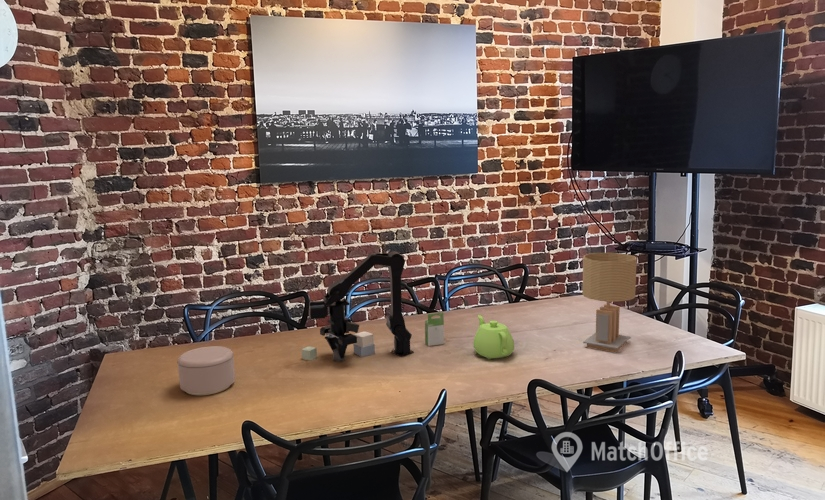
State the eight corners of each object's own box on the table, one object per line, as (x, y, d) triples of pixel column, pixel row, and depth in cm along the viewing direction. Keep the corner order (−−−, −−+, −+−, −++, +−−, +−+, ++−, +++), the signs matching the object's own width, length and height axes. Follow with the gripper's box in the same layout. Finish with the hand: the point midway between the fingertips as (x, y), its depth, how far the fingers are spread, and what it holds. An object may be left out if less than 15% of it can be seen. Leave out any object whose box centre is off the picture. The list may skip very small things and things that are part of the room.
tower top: (373, 343, 231) (373, 334, 230) (362, 347, 227) (362, 337, 227) (364, 340, 235) (364, 331, 234) (354, 344, 231) (353, 334, 230)
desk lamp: (624, 356, 220) (627, 263, 214) (573, 347, 232) (575, 258, 226) (639, 342, 236) (643, 255, 230) (591, 334, 247) (594, 251, 241)
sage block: (316, 357, 229) (316, 347, 228) (310, 360, 225) (309, 350, 224) (308, 356, 230) (308, 346, 230) (302, 359, 227) (301, 349, 226)
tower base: (374, 354, 231) (374, 344, 230) (361, 357, 228) (361, 347, 227) (367, 350, 236) (366, 340, 235) (353, 353, 232) (353, 343, 232)
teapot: (462, 347, 235) (461, 315, 233) (495, 342, 241) (495, 311, 238) (488, 365, 215) (488, 331, 213) (524, 359, 220) (524, 325, 218)
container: (216, 372, 216) (214, 341, 214) (246, 384, 204) (243, 351, 202) (170, 388, 202) (166, 355, 200) (198, 401, 191) (195, 367, 189)
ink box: (441, 341, 243) (440, 309, 241) (444, 344, 240) (443, 312, 237) (425, 343, 241) (424, 311, 239) (428, 346, 238) (427, 314, 235)
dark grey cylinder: (347, 360, 225) (346, 350, 224) (337, 362, 222) (336, 352, 221) (341, 357, 228) (341, 347, 228) (331, 359, 226) (330, 349, 225)
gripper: (368, 318, 220) (370, 358, 222) (343, 308, 234) (345, 346, 237) (342, 324, 213) (344, 365, 216) (318, 313, 228) (320, 352, 231)
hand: (339, 356), depth 225 cm, fingers closed on dark grey cylinder, 4 cm apart
